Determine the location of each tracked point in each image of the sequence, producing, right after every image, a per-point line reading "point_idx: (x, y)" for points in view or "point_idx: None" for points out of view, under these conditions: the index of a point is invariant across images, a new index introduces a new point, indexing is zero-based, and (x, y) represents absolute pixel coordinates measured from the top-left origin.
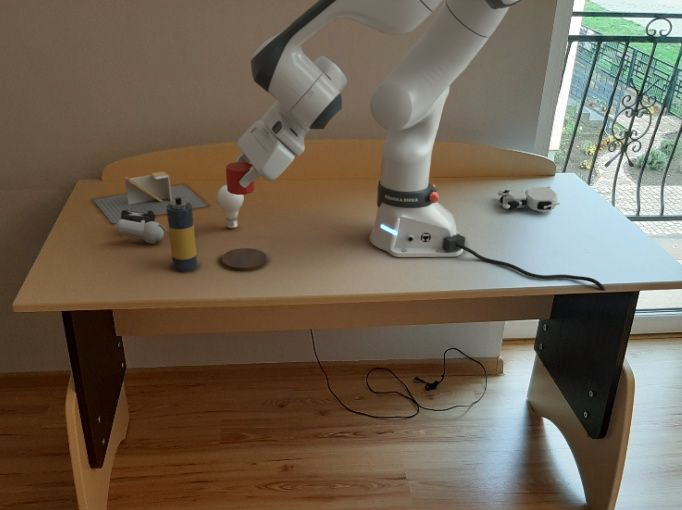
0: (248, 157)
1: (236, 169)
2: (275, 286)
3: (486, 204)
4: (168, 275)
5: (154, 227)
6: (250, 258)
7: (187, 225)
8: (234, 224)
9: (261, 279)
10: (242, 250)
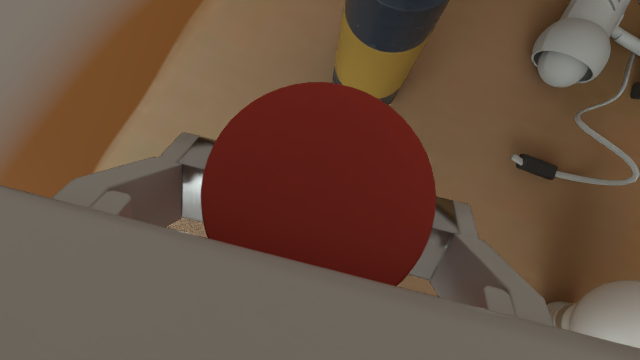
0: (240, 251)
1: (261, 133)
2: None
3: None
4: (340, 27)
5: (562, 42)
6: None
7: (346, 9)
8: None
9: (182, 226)
10: None
